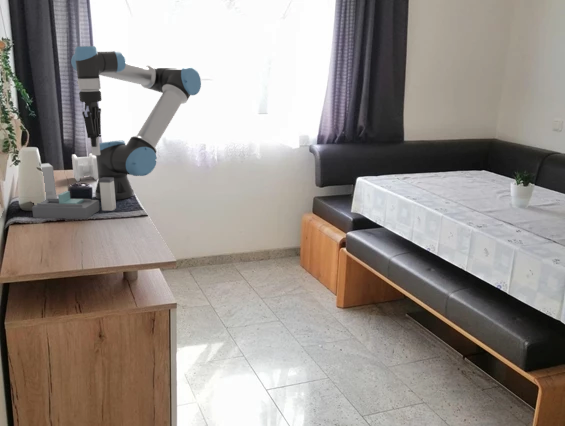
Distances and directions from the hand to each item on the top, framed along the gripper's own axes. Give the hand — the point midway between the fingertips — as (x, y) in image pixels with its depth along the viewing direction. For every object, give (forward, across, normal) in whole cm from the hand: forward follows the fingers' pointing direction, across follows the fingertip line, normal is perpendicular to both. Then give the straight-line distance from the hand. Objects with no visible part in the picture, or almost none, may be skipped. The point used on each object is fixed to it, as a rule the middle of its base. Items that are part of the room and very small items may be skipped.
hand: (96, 154), depth 216 cm
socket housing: (+21, +7, -11) cm, 25 cm away
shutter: (+17, +7, -9) cm, 20 cm away
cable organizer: (+22, -57, -27) cm, 67 cm away
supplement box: (+21, -11, -28) cm, 37 cm away
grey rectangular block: (+21, -1, +3) cm, 21 cm away
